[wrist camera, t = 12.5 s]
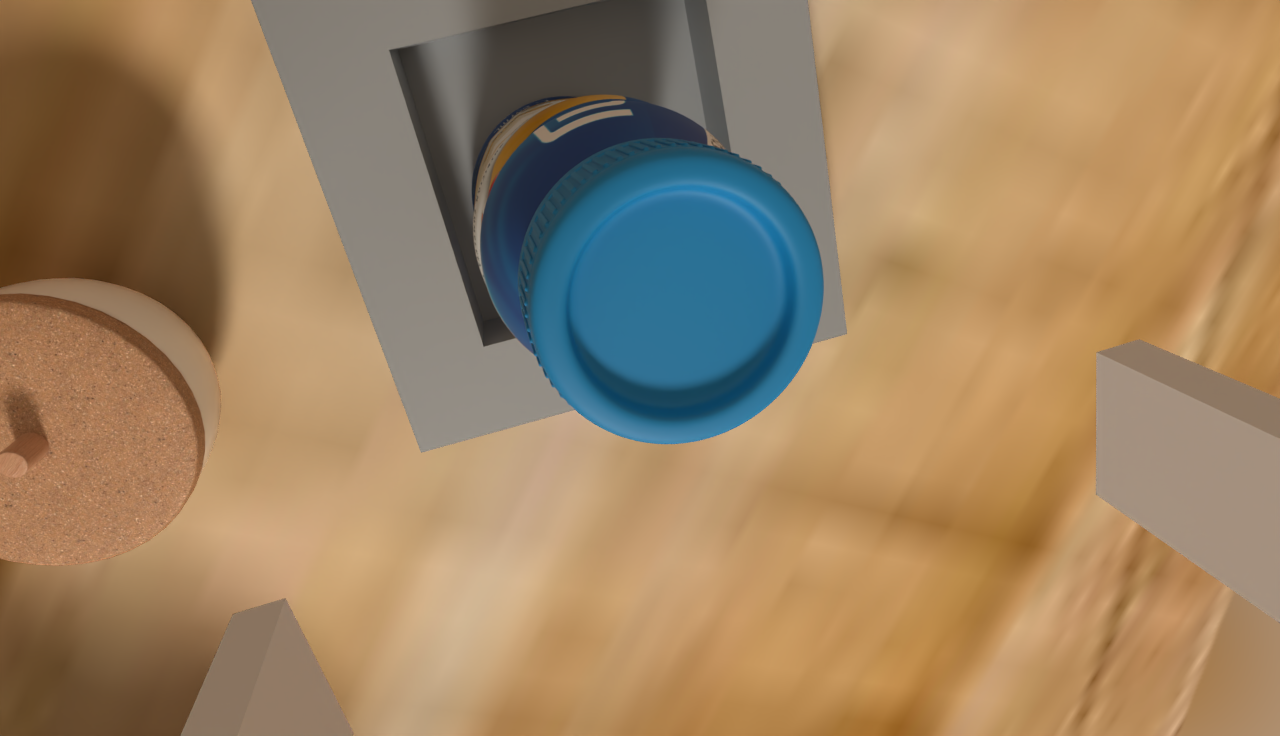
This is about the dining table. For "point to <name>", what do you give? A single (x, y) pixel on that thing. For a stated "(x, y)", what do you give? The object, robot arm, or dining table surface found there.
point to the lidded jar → (97, 419)
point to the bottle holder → (467, 114)
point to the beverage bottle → (644, 265)
